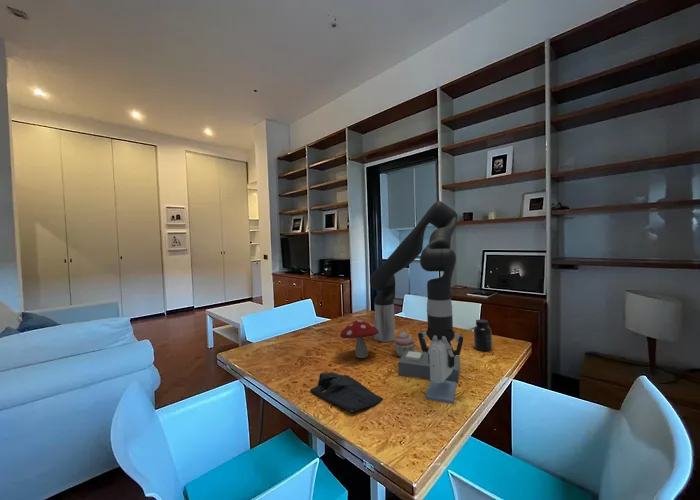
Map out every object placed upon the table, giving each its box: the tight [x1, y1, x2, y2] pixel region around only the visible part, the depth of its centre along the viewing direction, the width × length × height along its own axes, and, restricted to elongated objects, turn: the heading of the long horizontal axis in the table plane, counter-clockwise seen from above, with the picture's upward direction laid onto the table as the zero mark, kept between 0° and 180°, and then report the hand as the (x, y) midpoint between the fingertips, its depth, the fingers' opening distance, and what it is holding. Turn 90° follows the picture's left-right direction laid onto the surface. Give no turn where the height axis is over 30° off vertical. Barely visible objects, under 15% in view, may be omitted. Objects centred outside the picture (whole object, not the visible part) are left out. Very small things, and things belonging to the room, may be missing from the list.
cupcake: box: [392, 330, 417, 358], centre depth 121 cm, size 9×9×10 cm
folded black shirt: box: [310, 372, 384, 413], centre depth 92 cm, size 15×22×5 cm
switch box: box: [397, 349, 461, 385], centre depth 105 cm, size 20×12×5 cm, turn 66°
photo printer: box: [429, 339, 453, 383], centre depth 92 cm, size 10×4×12 cm, turn 140°
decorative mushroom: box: [339, 319, 379, 359], centre depth 122 cm, size 16×16×15 cm
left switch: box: [406, 351, 422, 361], centre depth 108 cm, size 5×5×2 cm
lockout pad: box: [425, 379, 457, 404], centre depth 92 cm, size 8×12×1 cm, turn 156°
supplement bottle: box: [473, 319, 493, 352], centre depth 124 cm, size 7×7×12 cm
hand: (441, 365), depth 92 cm, fingers closed on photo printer, 5 cm apart
